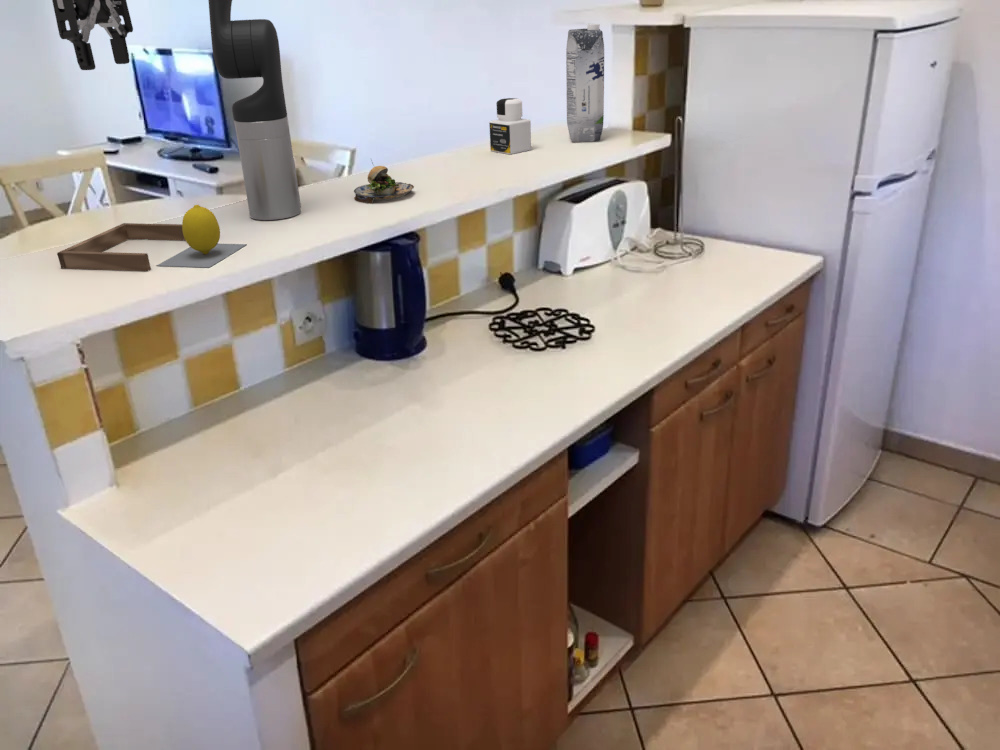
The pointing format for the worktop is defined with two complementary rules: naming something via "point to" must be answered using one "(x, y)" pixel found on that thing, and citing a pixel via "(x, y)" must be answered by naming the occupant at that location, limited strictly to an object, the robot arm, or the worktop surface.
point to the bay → (92, 248)
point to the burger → (380, 187)
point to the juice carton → (585, 83)
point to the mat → (202, 256)
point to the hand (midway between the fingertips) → (105, 66)
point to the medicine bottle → (510, 128)
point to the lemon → (200, 229)
